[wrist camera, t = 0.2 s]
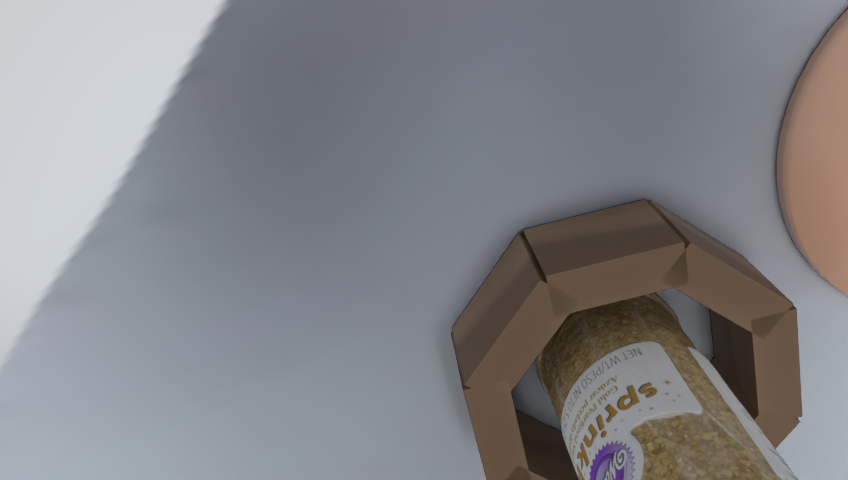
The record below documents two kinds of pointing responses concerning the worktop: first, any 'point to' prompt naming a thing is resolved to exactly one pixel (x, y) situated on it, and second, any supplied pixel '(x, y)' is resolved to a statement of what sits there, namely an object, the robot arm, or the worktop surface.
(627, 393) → the sprinkles bottle
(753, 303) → the ring
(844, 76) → the peach round disc
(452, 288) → the worktop surface
